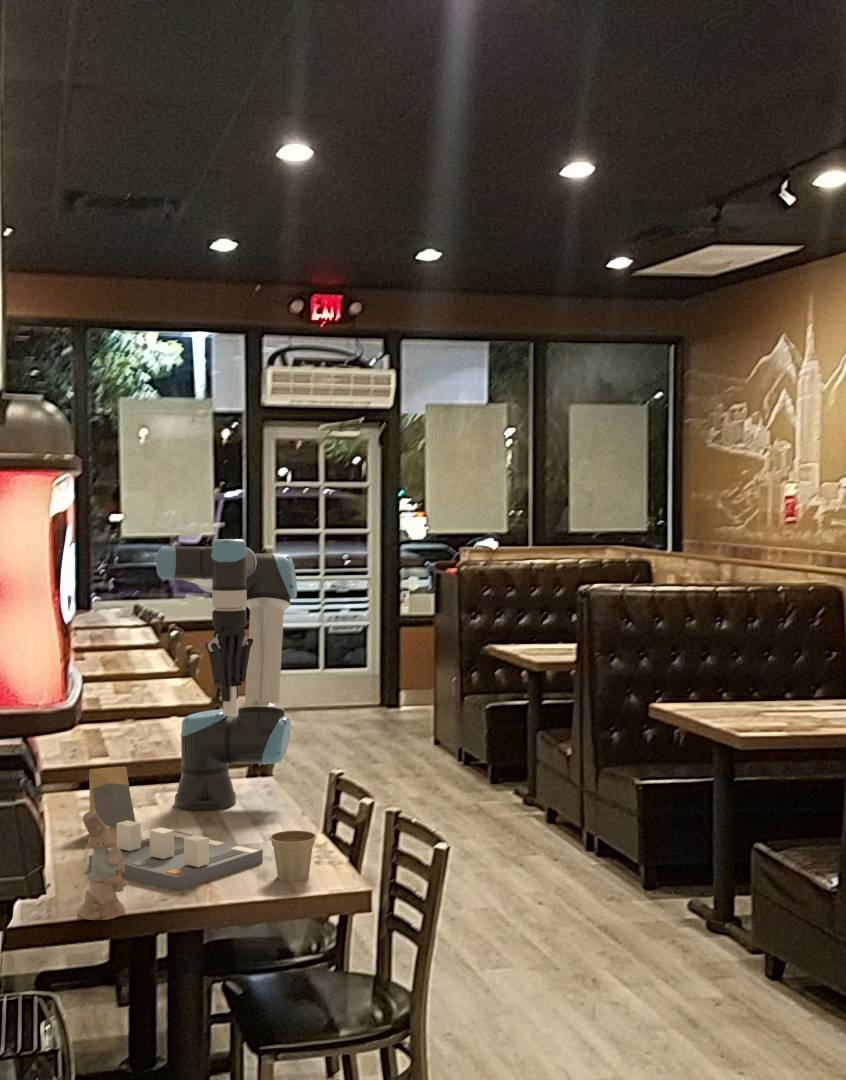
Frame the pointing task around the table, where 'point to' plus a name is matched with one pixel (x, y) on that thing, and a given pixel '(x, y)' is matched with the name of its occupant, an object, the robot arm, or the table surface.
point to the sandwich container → (111, 796)
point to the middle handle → (161, 843)
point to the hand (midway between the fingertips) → (229, 715)
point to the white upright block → (196, 850)
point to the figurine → (103, 873)
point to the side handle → (129, 835)
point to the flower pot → (293, 854)
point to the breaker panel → (181, 875)
